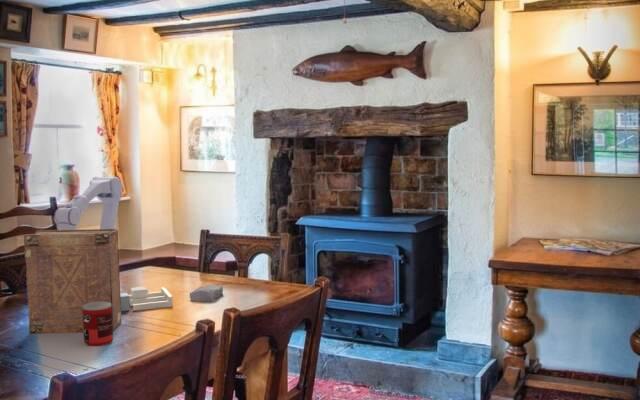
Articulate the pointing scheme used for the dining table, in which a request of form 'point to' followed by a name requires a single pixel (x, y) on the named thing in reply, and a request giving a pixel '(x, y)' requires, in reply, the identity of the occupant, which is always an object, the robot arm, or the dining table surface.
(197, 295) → the stone block
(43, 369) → the dining table surface
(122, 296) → the tethered block
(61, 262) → the book
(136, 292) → the cream cube
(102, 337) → the canned food
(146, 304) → the lane rack
